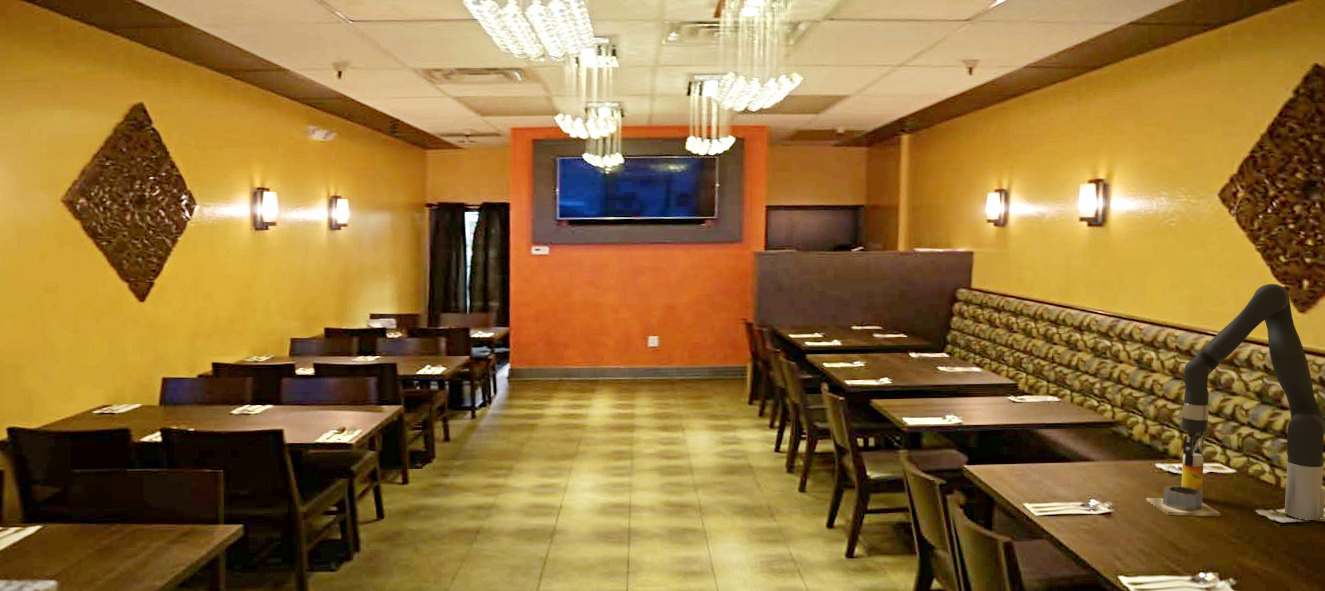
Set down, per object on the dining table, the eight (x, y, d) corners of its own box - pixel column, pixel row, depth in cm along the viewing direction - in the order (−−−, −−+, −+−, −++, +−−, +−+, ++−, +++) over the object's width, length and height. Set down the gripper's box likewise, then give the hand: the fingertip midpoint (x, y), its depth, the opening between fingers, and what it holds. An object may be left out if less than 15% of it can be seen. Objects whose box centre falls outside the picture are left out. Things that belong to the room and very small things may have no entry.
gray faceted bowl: (1191, 500, 295) (1191, 486, 295) (1208, 511, 284) (1209, 495, 284) (1157, 499, 296) (1157, 485, 296) (1173, 510, 285) (1173, 494, 285)
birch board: (1195, 501, 297) (1196, 499, 297) (1220, 516, 282) (1220, 513, 282) (1146, 500, 298) (1146, 497, 298) (1167, 514, 284) (1168, 511, 283)
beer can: (1200, 501, 298) (1202, 457, 297) (1179, 498, 301) (1181, 454, 300) (1202, 497, 303) (1204, 454, 302) (1182, 493, 306) (1184, 451, 305)
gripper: (1202, 421, 292) (1199, 469, 294) (1213, 415, 302) (1210, 462, 304) (1176, 418, 298) (1173, 465, 299) (1188, 412, 308) (1185, 457, 309)
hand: (1192, 463), depth 301 cm, fingers open, 8 cm apart
